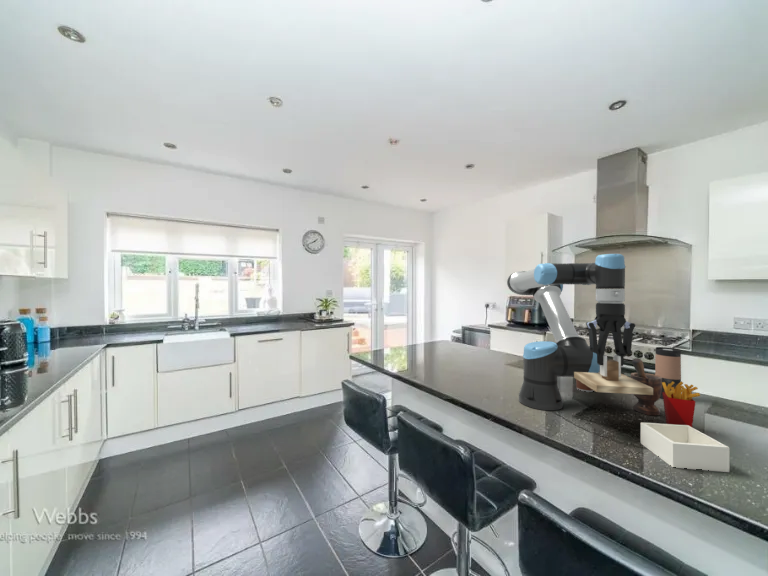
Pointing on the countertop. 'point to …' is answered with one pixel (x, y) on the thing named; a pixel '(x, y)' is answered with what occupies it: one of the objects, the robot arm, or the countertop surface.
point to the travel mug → (668, 366)
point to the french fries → (679, 404)
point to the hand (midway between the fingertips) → (610, 375)
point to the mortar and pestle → (654, 381)
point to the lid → (613, 381)
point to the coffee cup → (583, 386)
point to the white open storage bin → (685, 447)
